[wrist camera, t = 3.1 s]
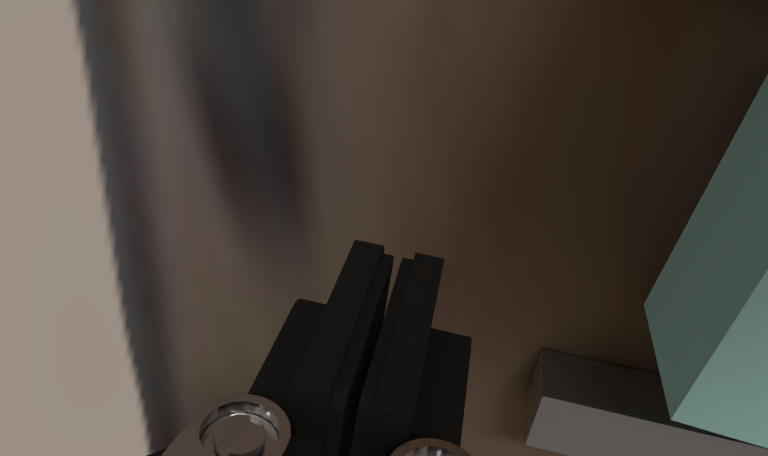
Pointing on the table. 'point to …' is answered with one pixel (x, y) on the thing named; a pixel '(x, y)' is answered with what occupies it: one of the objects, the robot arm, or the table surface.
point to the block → (720, 296)
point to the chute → (611, 413)
